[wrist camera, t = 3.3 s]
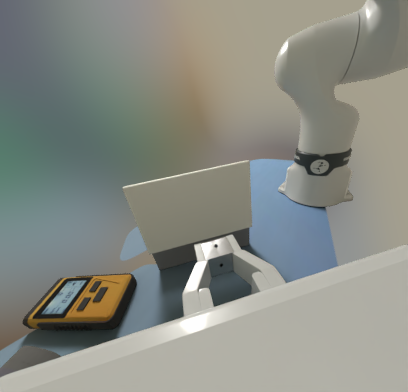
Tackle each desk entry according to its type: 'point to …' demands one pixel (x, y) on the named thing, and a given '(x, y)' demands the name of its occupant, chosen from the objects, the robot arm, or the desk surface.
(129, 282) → the electronic device
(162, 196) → the cover
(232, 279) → the desk surface
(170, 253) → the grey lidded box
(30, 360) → the bluetooth speaker
